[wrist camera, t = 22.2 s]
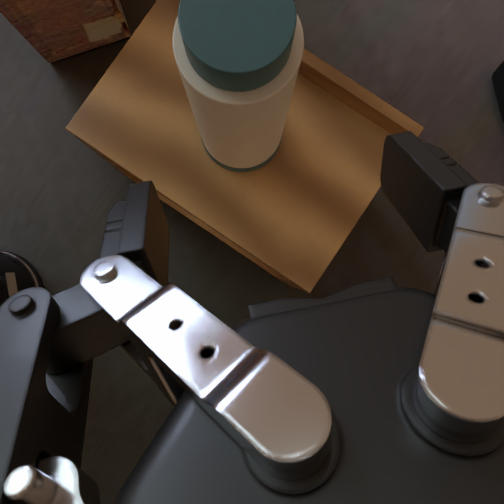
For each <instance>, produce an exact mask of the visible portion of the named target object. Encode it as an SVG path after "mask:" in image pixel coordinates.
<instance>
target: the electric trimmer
mask: <svg viewBox="0 0 504 504" xmlns="http://www.w3.org/2000/svg"><path fill="white" fill-rule="evenodd" d="M492 82H493V85H494V89H495V93H496V96H497V100H498V103H499V107H500V110H501V114H502V118H503V121H504V61H503V62H502V63H501V64H500V66H499V67H498V68H497V69H496V70H495V72H494V73H493V75H492Z"/></svg>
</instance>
